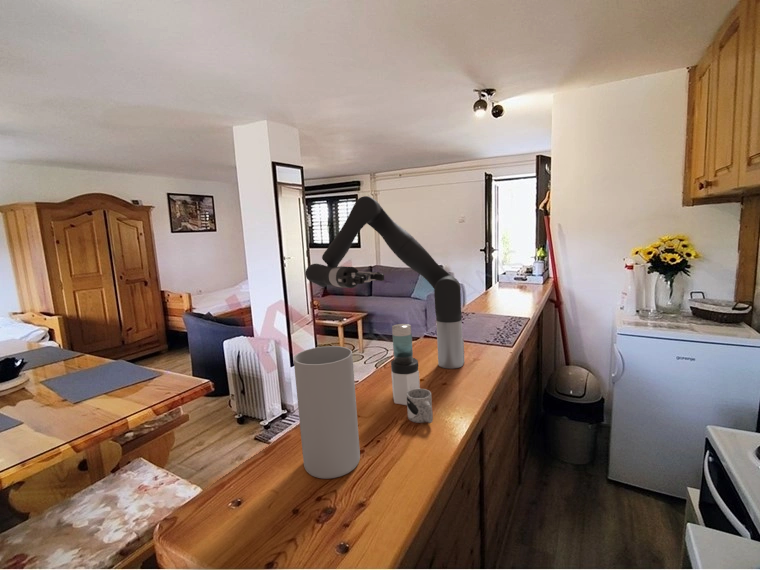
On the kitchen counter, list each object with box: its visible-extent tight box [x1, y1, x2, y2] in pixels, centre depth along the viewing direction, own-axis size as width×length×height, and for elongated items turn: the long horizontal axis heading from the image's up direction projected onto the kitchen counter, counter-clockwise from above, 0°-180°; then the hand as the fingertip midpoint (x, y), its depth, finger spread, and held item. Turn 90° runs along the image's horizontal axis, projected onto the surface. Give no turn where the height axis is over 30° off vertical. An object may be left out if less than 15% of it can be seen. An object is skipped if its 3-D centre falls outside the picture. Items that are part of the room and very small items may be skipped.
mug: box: [406, 388, 434, 424], centre depth 99 cm, size 10×7×7 cm, turn 21°
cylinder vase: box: [293, 345, 361, 480], centre depth 82 cm, size 12×12×25 cm
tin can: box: [391, 323, 414, 365], centre depth 111 cm, size 6×6×11 cm
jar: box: [390, 357, 421, 406], centre depth 112 cm, size 9×8×12 cm
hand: (373, 278), depth 120 cm, fingers open, 8 cm apart
